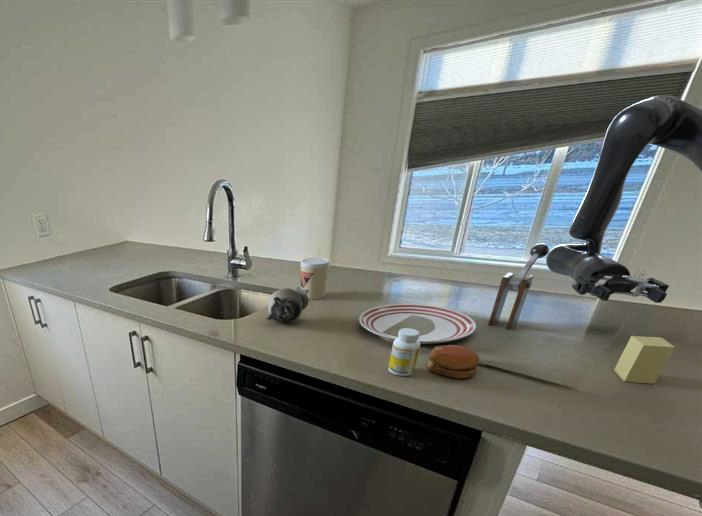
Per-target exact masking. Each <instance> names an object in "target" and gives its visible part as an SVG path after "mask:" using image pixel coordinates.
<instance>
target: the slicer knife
mask: <svg viewBox="0 0 702 516" xmlns="http://www.w3.org/2000/svg"><path fill="white" fill-rule="evenodd" d="M549 252H550V247H549V246H548V245H547V244H545V243H536V244H535V245H534V246H532V247H531V248H530V251H529V254H530V256H531V257H530V258H529V260H528V261H527V263H526V264H525V265H524V266H523V268H521V271H520V272H519V273H518V274H517V275H513V277H512V279H511V280H510V281H509V283H508V289H507V290H508V291H511V292H517V293H518V291H519V288H520V285H521V282H522V279H524V278H525V277H526V275H527V274H528V272H529V271H530V270H531V268H532V267H533V266H534V264H535V263H536V262H537V260H538V259H542V258H544V257H547V255H548V253H549Z"/></svg>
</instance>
